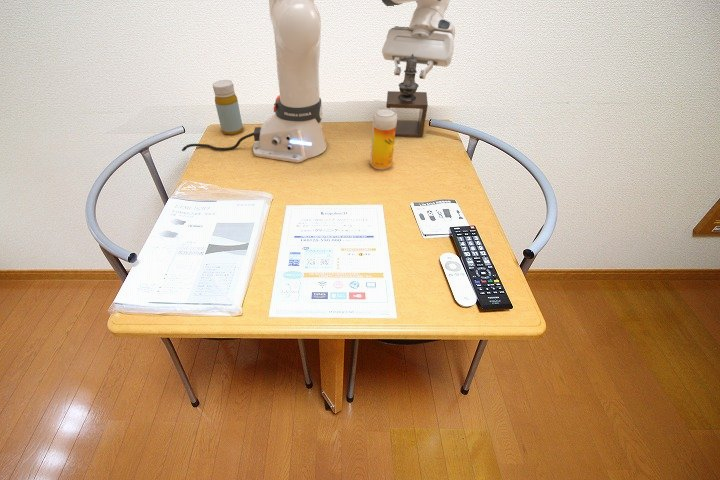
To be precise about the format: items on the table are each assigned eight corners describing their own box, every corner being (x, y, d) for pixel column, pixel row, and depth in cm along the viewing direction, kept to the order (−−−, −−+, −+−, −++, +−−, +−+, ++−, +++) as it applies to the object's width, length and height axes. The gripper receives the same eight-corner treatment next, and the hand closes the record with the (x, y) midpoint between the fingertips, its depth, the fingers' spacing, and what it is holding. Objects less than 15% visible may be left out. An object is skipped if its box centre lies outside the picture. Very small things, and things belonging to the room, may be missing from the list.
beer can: (392, 170, 101) (399, 116, 90) (370, 170, 101) (374, 117, 90) (390, 159, 105) (396, 106, 94) (369, 159, 105) (372, 107, 94)
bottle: (217, 132, 121) (206, 85, 110) (231, 124, 125) (221, 78, 114) (233, 137, 118) (223, 89, 107) (247, 128, 122) (238, 81, 111)
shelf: (383, 135, 115) (386, 103, 108) (384, 122, 122) (387, 91, 115) (422, 137, 114) (427, 104, 106) (421, 123, 120) (426, 92, 113)
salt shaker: (416, 101, 108) (423, 57, 100) (396, 101, 109) (401, 56, 101) (417, 94, 112) (423, 50, 104) (397, 93, 113) (402, 50, 105)
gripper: (388, 18, 105) (373, 65, 106) (460, 24, 98) (443, 74, 99) (391, 32, 111) (377, 77, 112) (459, 38, 104) (444, 86, 105)
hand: (409, 76), depth 106 cm, fingers open, 6 cm apart
